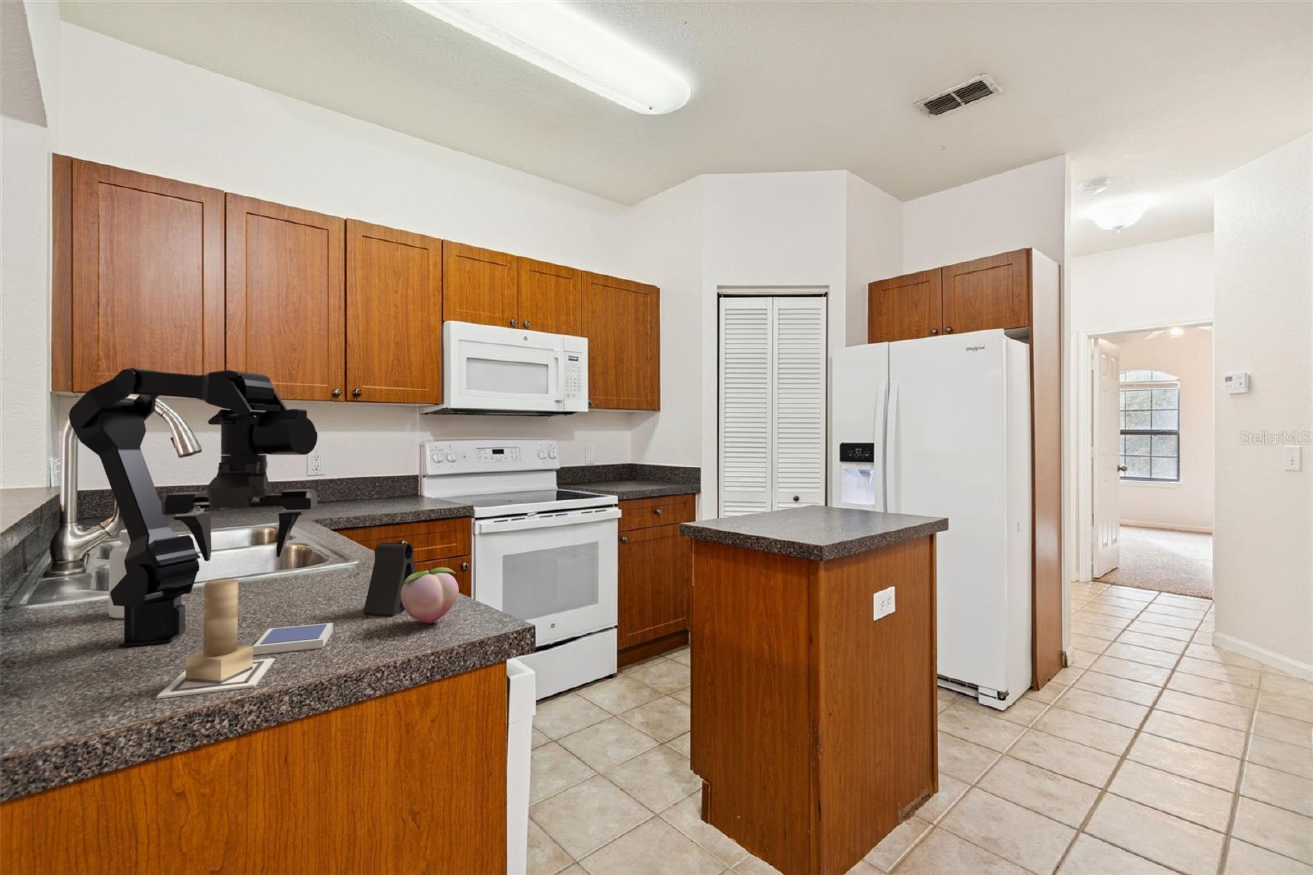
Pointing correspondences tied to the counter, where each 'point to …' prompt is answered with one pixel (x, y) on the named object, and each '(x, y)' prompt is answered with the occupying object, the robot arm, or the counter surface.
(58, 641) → the counter surface
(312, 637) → the ink pad
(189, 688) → the card
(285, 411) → the robot arm
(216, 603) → the stamp
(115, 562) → the pill bottle
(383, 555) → the phone stand
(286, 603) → the counter surface
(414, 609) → the decorative fruit
